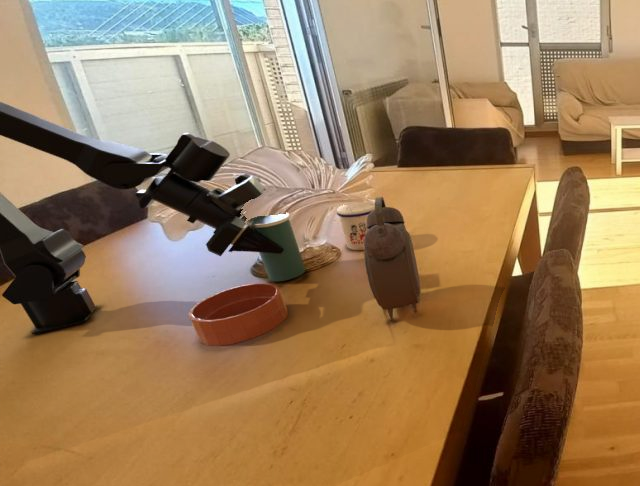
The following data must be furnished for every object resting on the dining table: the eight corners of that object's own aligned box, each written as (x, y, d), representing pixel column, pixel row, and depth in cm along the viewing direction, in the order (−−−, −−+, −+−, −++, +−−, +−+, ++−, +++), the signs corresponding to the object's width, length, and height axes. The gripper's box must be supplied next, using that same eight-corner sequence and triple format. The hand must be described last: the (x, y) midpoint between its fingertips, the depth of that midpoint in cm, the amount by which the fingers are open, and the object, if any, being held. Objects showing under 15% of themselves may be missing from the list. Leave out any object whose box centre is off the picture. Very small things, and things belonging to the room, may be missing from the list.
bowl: (194, 358, 72) (181, 330, 70) (206, 321, 81) (195, 296, 79) (288, 331, 78) (278, 305, 76) (288, 300, 87) (280, 276, 85)
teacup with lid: (349, 255, 104) (335, 205, 100) (343, 241, 111) (330, 194, 107) (406, 240, 111) (395, 193, 106) (397, 229, 117) (387, 184, 113)
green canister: (279, 285, 90) (258, 227, 86) (260, 277, 93) (239, 221, 88) (314, 270, 96) (296, 215, 91) (295, 263, 99) (277, 209, 94)
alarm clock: (380, 292, 88) (354, 191, 81) (421, 284, 91) (400, 185, 83) (377, 334, 76) (345, 219, 68) (425, 323, 79) (400, 211, 71)
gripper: (204, 178, 76) (303, 229, 84) (237, 154, 92) (318, 199, 100) (162, 232, 76) (265, 277, 85) (202, 198, 92) (285, 239, 100)
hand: (286, 245), depth 92 cm, fingers closed on green canister, 6 cm apart
